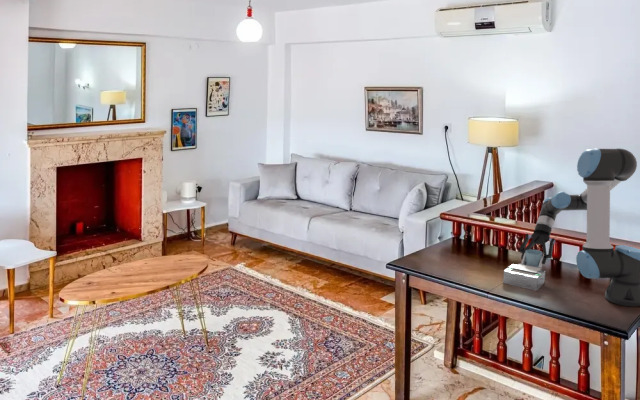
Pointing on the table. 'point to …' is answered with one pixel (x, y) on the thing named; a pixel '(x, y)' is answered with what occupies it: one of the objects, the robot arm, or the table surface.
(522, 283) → the white rectangular box
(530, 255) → the cup
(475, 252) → the table surface
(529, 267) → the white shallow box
